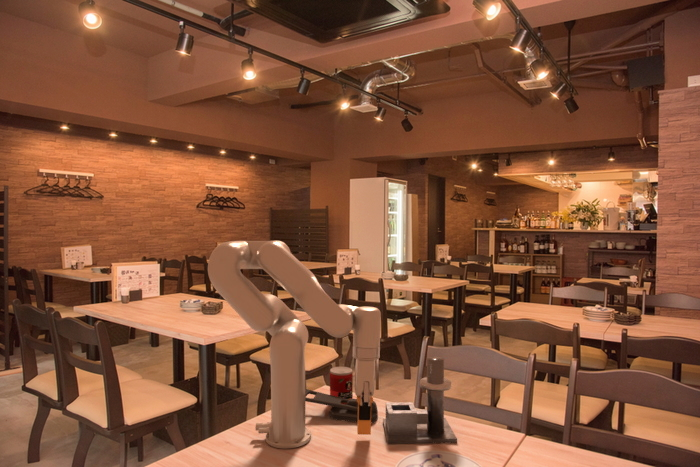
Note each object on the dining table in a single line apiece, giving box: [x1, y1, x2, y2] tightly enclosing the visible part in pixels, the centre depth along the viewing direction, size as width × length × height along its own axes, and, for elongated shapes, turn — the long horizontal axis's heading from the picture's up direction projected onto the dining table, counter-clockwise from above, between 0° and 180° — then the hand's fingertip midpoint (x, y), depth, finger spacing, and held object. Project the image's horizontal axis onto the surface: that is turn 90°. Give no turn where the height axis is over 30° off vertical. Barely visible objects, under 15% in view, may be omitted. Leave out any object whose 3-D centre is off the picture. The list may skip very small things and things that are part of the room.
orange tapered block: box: [356, 395, 374, 436], centre depth 129 cm, size 4×3×10 cm
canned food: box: [329, 366, 354, 405], centre depth 157 cm, size 8×8×11 cm
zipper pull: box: [305, 388, 379, 424], centre depth 145 cm, size 9×7×25 cm
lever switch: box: [382, 356, 458, 445], centre depth 133 cm, size 19×14×21 cm
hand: (364, 417), depth 129 cm, fingers closed on orange tapered block, 2 cm apart
